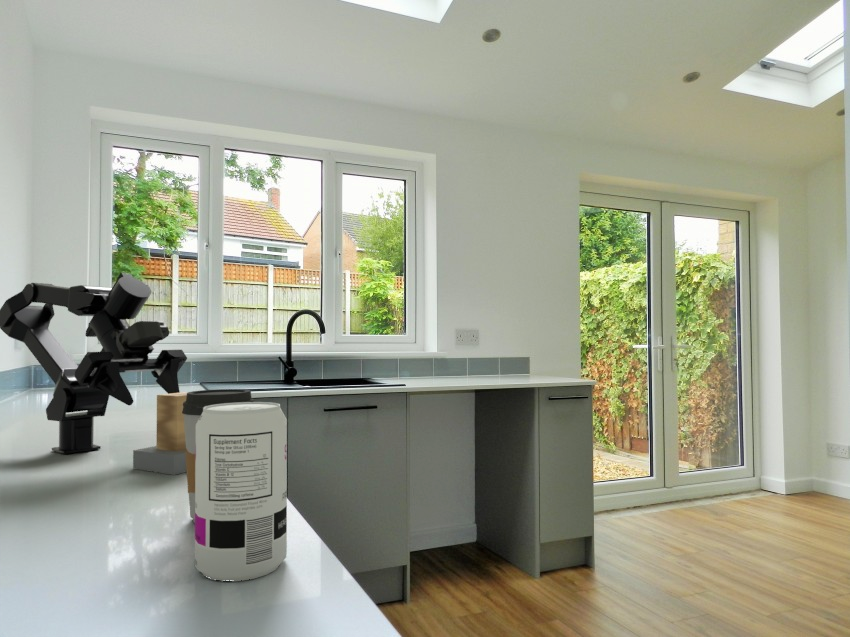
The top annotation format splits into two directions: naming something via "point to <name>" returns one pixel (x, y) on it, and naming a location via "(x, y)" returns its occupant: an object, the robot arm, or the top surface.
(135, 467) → the gray plinth
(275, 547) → the supplement can
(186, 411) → the coffee cup
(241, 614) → the top surface
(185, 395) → the caramel block
